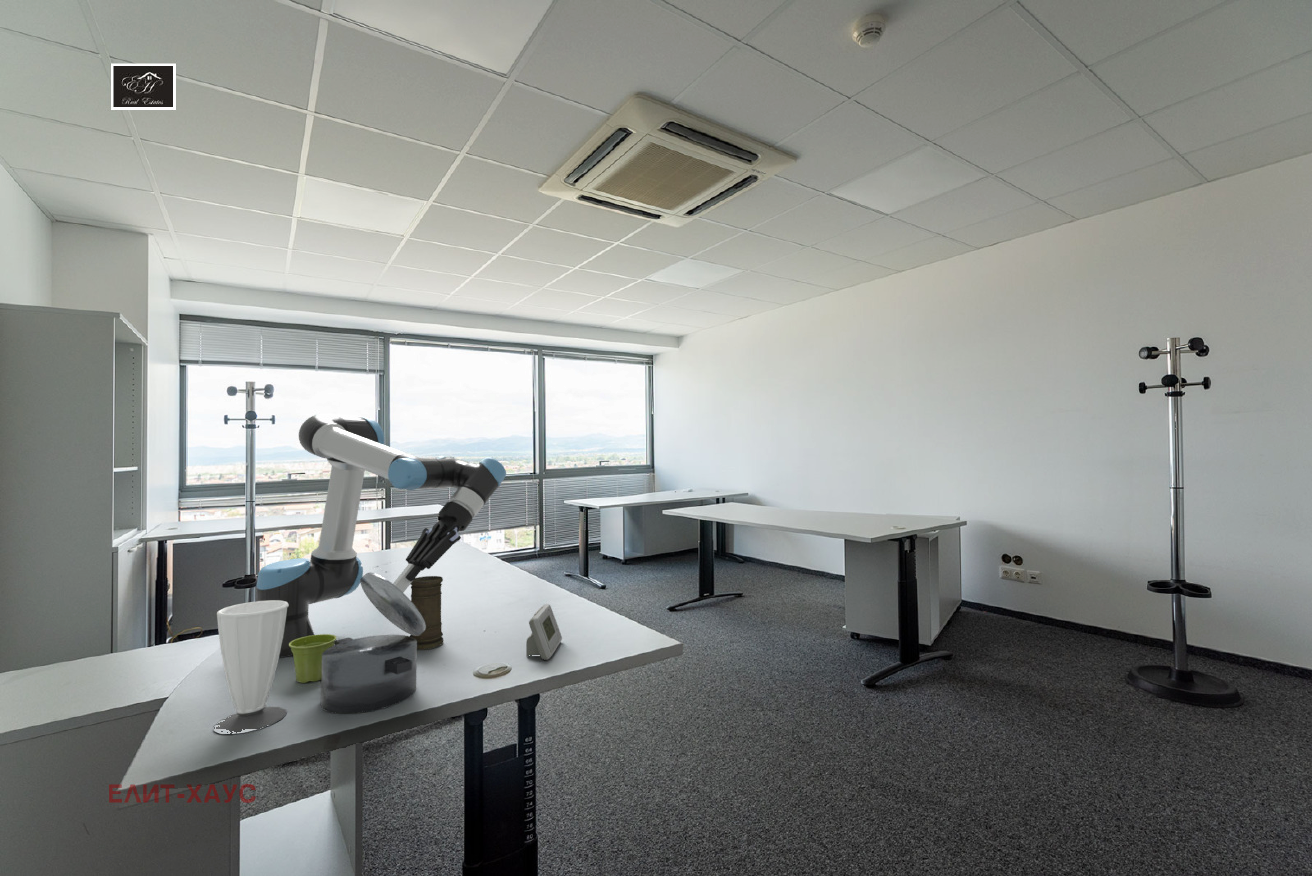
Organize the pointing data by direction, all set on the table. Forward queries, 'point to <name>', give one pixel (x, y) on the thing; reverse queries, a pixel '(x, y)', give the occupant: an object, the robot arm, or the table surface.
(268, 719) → the cup
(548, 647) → the digital clock
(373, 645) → the cooking pot
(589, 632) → the table surface
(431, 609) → the container
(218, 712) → the table surface
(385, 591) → the pot lid
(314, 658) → the plant pot
